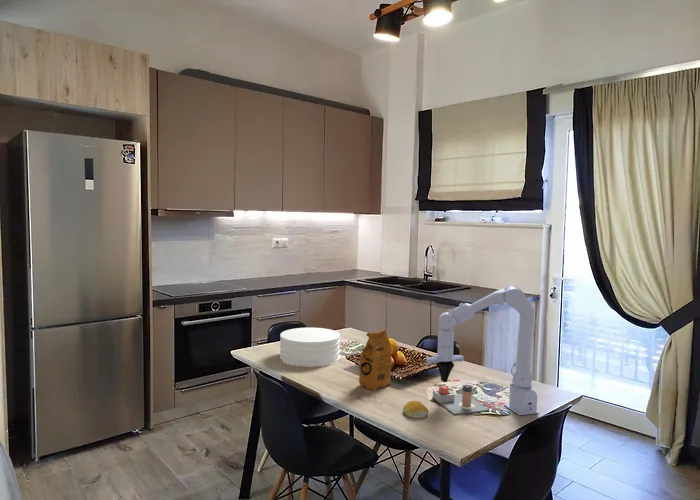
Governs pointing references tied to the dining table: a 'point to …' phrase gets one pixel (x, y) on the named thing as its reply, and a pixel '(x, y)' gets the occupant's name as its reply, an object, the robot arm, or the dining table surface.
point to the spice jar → (466, 395)
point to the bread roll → (415, 409)
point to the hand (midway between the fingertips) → (444, 381)
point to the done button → (443, 390)
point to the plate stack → (309, 346)
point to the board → (457, 403)
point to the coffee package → (376, 361)
